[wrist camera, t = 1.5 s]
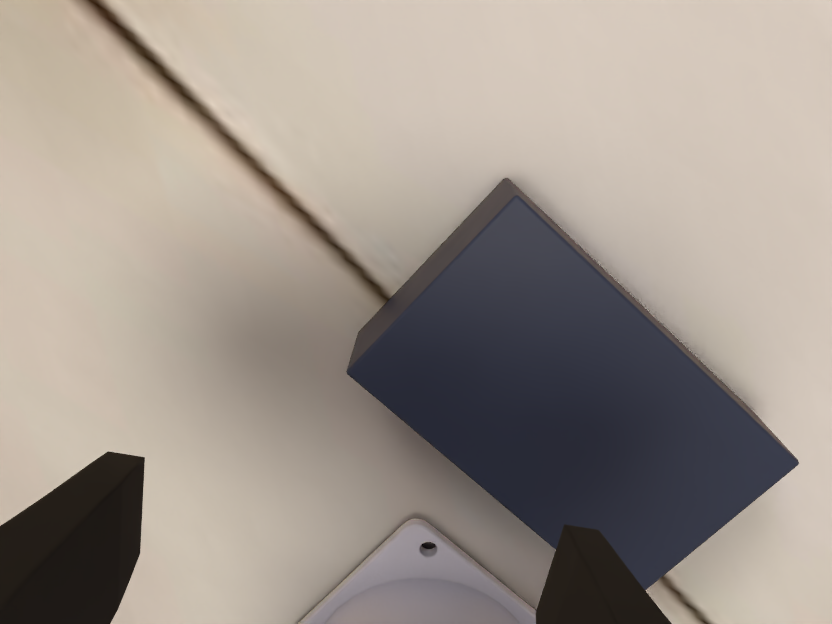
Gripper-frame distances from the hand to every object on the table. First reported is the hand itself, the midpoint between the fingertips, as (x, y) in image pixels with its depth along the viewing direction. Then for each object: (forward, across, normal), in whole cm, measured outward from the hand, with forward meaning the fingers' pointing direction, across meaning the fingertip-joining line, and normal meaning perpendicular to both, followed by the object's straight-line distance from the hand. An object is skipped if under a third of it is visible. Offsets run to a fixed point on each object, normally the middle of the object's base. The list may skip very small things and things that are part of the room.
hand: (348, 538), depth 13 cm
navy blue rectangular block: (+9, -5, +1) cm, 11 cm away
